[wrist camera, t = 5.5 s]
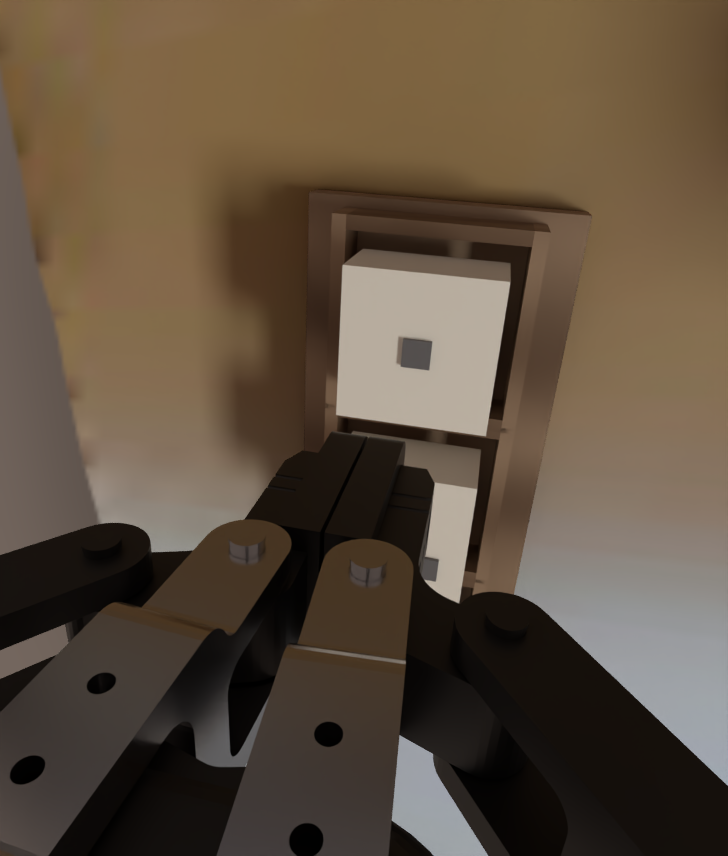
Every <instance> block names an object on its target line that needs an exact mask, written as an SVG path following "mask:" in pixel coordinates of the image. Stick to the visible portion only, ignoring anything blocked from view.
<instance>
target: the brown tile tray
mask: <svg viewBox="0 0 728 856" xmlns="http://www.w3.org/2000/svg"><path fill="white" fill-rule="evenodd" d="M591 219H592V215H591V214H590V213H589V212H583V211H571V210H559V209H547V208H535V207H523V206H511V205H499V204H487V203H475V202H463V201H451V200H439V199H427V198H415V197H403V196H391V195H379V194H367V193H355V192H343V191H331V190H319V189H318V190H314V191H311V192H309V218H308V271H307V323H306V376H305V429H304V451H310V452H316V453H319V451H320V449H321V448H322V446H323V444H324V443H325V441H326V439H327V438H328V436H329V434H330V433H331V432H332V431H335V432H342V433H349V434H351V433H352V432H353V431H358V432H365V433H371V434H378V435H385V436H392V437H399V438H406V439H413V440H419V441H426V442H433V443H440V444H447V445H454V446H460V447H467V448H474V449H481V455H480V466H479V477H478V488H477V494H476V501H475V507H474V513H473V519H472V526H471V532H470V538H469V544H468V551H467V557H466V563H465V569H464V576H463V582H462V588H461V594H460V601H459V604H460V603H461V602H462V601H463V600H465V599H466V598H468V597H469V596H472V595H474V594H478V593H482V592H504V593H509V594H513V595H514V590H515V585H516V580H517V576H518V571H519V566H520V561H521V556H522V552H523V547H524V542H525V537H526V532H527V527H528V523H529V518H530V513H531V508H532V503H533V498H534V494H535V489H536V484H537V479H538V474H539V470H540V465H541V460H542V455H543V450H544V445H545V441H546V436H547V431H548V426H549V421H550V417H551V412H552V407H553V402H554V397H555V392H556V388H557V383H558V378H559V373H560V368H561V363H562V359H563V354H564V349H565V344H566V339H567V335H568V330H569V325H570V320H571V315H572V310H573V306H574V301H575V296H576V291H577V286H578V281H579V277H580V272H581V267H582V262H583V257H584V253H585V248H586V243H587V238H588V233H589V228H590V224H591ZM362 249H373V250H383V251H393V252H403V253H413V254H424V255H434V256H444V257H454V258H465V259H475V260H485V261H495V262H505V263H510V269H511V282H510V288H509V295H508V301H507V307H506V313H505V320H504V326H503V332H502V338H501V345H500V351H499V357H498V363H497V370H496V376H495V382H494V388H493V395H492V401H491V407H490V413H489V420H488V426H487V432H486V436H480V435H473V434H466V433H459V432H452V431H445V430H438V429H431V428H424V427H417V426H410V425H403V424H396V423H389V422H382V421H375V420H368V419H361V418H354V417H347V416H340V415H336V406H337V383H338V360H339V336H340V313H341V290H342V266H343V264H344V263H346V262H347V261H348V260H349V259H351V258H352V257H353V256H354V255H356V254H357V253H358V252H359V251H361V250H362Z"/></svg>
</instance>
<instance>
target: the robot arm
mask: <svg viewBox="0 0 728 856" xmlns="http://www.w3.org/2000/svg"><path fill="white" fill-rule="evenodd" d="M405 449H406V443H405V441H398V440H391V439H384V438H377V437H369V438H368V437H367V436H363V435H356V434H349V433H342V432H335V431H332V432H331V433H330V434H329V436H328V438H327V439H326V441H325V443H324V444H323V446H322V448H321V449H320V451H319V453H316V452H310V451H301V452H300V453H298V454H296V455H294V456H293V457H291V458H289V459H287V460H285V462H284V463H283V465H282V466H281V467H280V469H279V470H278V472H277V473H276V477H274V478H273V479H272V480H271V482H270V483H269V485H268V488H266V489H265V491H264V492H263V493H262V495H261V496H260V498H259V499H258V501H257V502H256V504H255V505H254V506H253V508H252V509H251V511H250V512H249V514H248V515H247V517H246V518H245V519H244V520H238V521H233V522H229V523H226V524H223V525H221V526H219V527H217V528H216V529H214V530H213V531H211V532H210V533H209V534H208V535H207V536H206V537H205V538H204V539H203V540H202V542H201V543H200V544H199V545H198V546H197V547H196V548H195V549H194V550H193V551H178V552H151V543H150V538H149V536H148V535H147V533H146V532H145V531H144V530H142V529H140V528H139V527H136V526H133V525H129V524H124V523H105V524H98V525H94V526H90V527H86V528H83V529H80V530H77V531H74V532H71V533H68V534H65V535H61V536H59V537H55V538H52V539H49V540H46V541H43V542H40V543H37V544H34V545H30V546H27V547H24V548H21V549H18V550H15V551H12V552H9V553H6V554H2V555H0V650H2V649H4V648H7V647H9V646H12V645H14V644H16V643H19V642H22V641H24V640H27V639H29V638H32V637H34V636H37V635H39V634H41V633H44V632H46V631H49V630H51V629H54V628H56V627H59V626H61V625H64V624H65V626H66V632H67V637H68V642H69V643H68V644H67V645H66V646H65V647H64V648H63V649H62V650H61V651H60V652H59V653H58V654H57V655H55V656H53V657H50V658H48V659H46V660H44V661H41V662H39V663H37V664H34V665H32V666H29V667H27V668H25V669H22V670H20V671H18V672H15V673H13V674H11V675H9V676H6V677H4V678H1V679H0V856H433V855H432V854H431V852H430V851H429V850H428V849H427V848H425V847H424V846H423V845H422V844H421V843H420V842H419V841H418V840H417V839H416V838H415V837H413V836H412V835H411V834H410V833H408V832H407V831H405V830H404V829H403V828H401V827H400V826H398V825H397V824H396V823H394V822H393V821H392V810H393V799H394V788H395V777H396V767H397V756H398V745H399V735H401V736H402V737H404V738H406V739H408V740H409V741H411V742H413V743H415V744H417V745H418V746H420V747H422V748H424V749H425V750H427V751H429V752H431V753H433V760H434V766H435V769H436V772H437V774H438V776H439V778H440V780H441V781H442V783H443V784H444V786H445V788H446V789H447V791H448V792H449V794H450V796H451V797H452V799H453V800H454V802H455V803H456V805H457V807H458V808H459V810H460V811H461V813H462V815H463V816H464V818H465V819H466V821H467V822H468V824H469V826H470V827H471V829H472V830H473V832H474V834H475V835H476V837H477V838H478V840H479V841H480V843H481V845H482V846H483V848H484V849H485V851H486V853H487V854H488V856H728V786H727V785H726V784H725V783H724V782H723V781H722V780H721V779H720V778H719V777H718V776H717V775H716V774H715V773H714V772H712V771H711V770H710V769H709V768H708V767H707V766H706V765H705V764H704V763H703V762H702V761H701V760H700V759H699V758H698V757H697V756H696V755H695V754H694V753H693V752H691V751H690V750H689V749H688V748H687V747H686V746H685V745H684V744H683V743H682V742H681V741H680V740H679V739H678V738H677V737H676V736H675V735H674V734H673V733H672V732H670V731H669V730H668V729H667V728H666V727H665V726H664V725H663V724H662V723H661V722H660V721H659V720H658V719H657V718H656V717H655V716H654V715H653V714H652V713H651V712H649V711H648V710H647V709H646V708H645V707H644V706H643V705H642V704H641V703H640V702H639V701H638V700H637V699H636V698H635V697H634V696H633V695H632V694H631V693H630V692H628V691H627V690H626V689H625V688H624V687H623V686H622V685H621V684H620V683H619V682H618V681H617V680H616V679H615V678H614V677H613V676H612V675H611V674H610V673H609V672H608V671H606V670H605V669H604V668H603V667H602V666H601V665H600V664H599V663H598V662H597V661H596V660H595V659H594V658H593V657H592V656H591V655H590V654H589V653H588V652H587V651H585V650H584V649H583V648H582V647H581V646H580V645H579V644H578V643H577V642H576V641H575V640H574V639H573V638H572V637H571V636H570V635H569V634H568V633H567V632H566V631H564V630H563V629H562V628H561V627H560V626H559V625H558V624H557V623H556V622H555V621H554V620H553V619H552V618H551V617H550V616H549V615H548V614H547V613H546V612H544V611H543V610H542V609H541V608H540V607H538V606H537V605H535V604H534V603H532V602H530V601H528V600H526V599H524V598H522V597H519V596H517V595H513V594H509V593H504V592H482V593H478V594H474V595H472V596H469V597H468V598H466V599H465V600H463V601H462V602H461V603H460V604H459V603H457V602H455V601H452V600H450V599H448V598H446V597H444V596H442V595H441V594H439V593H437V592H436V591H435V590H433V589H432V588H431V587H430V586H429V585H428V584H427V583H426V582H425V580H424V579H423V577H422V576H421V575H422V570H423V564H424V560H425V555H426V550H427V543H428V535H429V527H430V519H431V511H432V503H433V495H434V487H435V483H434V481H433V479H432V477H431V475H430V474H429V472H428V470H427V469H423V468H417V467H410V466H404V460H405ZM246 764H247V765H246ZM245 766H246V767H245Z"/></svg>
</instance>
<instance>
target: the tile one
mask: <svg viewBox="0 0 728 856" xmlns="http://www.w3.org/2000/svg"><path fill="white" fill-rule="evenodd" d="M510 282H511V269H510V263H505V262H495V261H485V260H475V259H465V258H454V257H444V256H434V255H424V254H413V253H403V252H393V251H383V250H373V249H362V250H361V251H359V252H358V253H357V254H356V255H354V256H353V257H352V258H351V259H349V260H348V261H347V262H346V263H344V264H343V266H342V290H341V313H340V336H339V360H338V383H337V406H336V415H340V416H347V417H354V418H361V419H368V420H375V421H382V422H389V423H396V424H403V425H410V426H417V427H424V428H431V429H438V430H445V431H452V432H459V433H466V434H473V435H480V436H486V432H487V426H488V420H489V413H490V407H491V401H492V395H493V388H494V382H495V376H496V370H497V363H498V357H499V351H500V345H501V338H502V332H503V326H504V320H505V313H506V307H507V301H508V295H509V288H510Z"/></svg>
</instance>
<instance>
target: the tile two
mask: <svg viewBox="0 0 728 856" xmlns="http://www.w3.org/2000/svg"><path fill="white" fill-rule="evenodd" d="M351 434H356V435H363V436H367V437H368V438H369V437H377V438H384V439H391V440H398V441H405V443H406V449H405V460H404V466H410V467H417V468H423V469H427V470H428V472H429V474H430V475H431V477H432V479H433V481H434V483H435V487H434V495H433V503H432V511H431V519H430V527H429V535H428V543H427V550H426V555H425V560H424V564H423V570H422V575H421V576H422V577H423V579H424V580H425V582H426V583H427V584H428V585H429V586H430V587H431V588H432V589H433V590H435V591H436V592H437V593H439V594H441V595H442V596H444V597H446V598H448V599H450V600H452V601H455V602H457V603H459V601H460V594H461V588H462V582H463V576H464V569H465V563H466V557H467V551H468V544H469V538H470V532H471V526H472V519H473V513H474V507H475V501H476V494H477V488H478V477H479V466H480V455H481V449H474V448H467V447H460V446H454V445H447V444H440V443H433V442H426V441H419V440H413V439H406V438H399V437H392V436H385V435H378V434H371V433H365V432H358V431H353V432H352V433H351Z"/></svg>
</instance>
